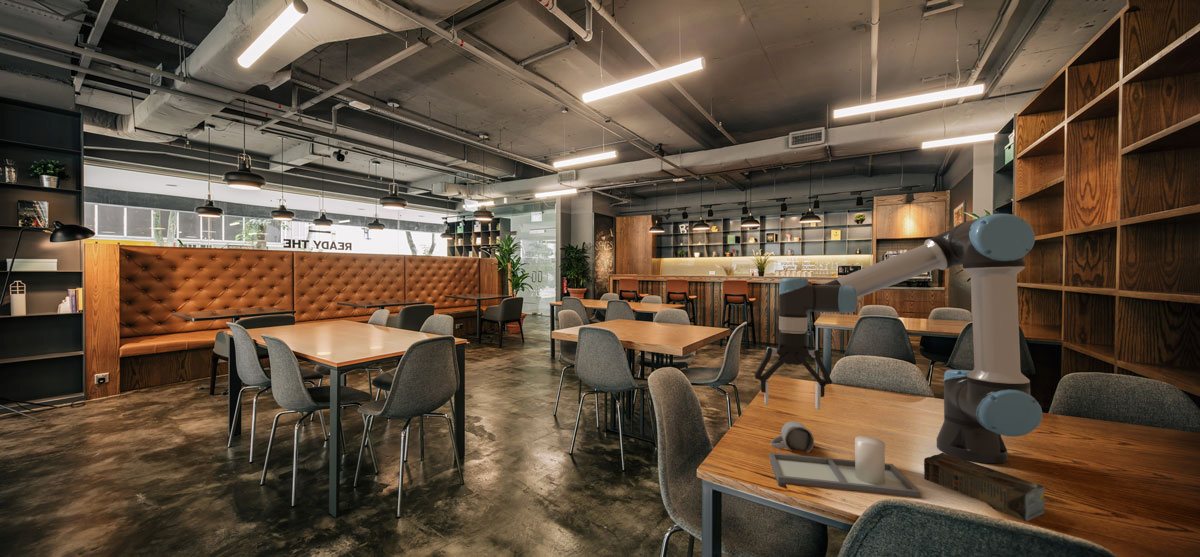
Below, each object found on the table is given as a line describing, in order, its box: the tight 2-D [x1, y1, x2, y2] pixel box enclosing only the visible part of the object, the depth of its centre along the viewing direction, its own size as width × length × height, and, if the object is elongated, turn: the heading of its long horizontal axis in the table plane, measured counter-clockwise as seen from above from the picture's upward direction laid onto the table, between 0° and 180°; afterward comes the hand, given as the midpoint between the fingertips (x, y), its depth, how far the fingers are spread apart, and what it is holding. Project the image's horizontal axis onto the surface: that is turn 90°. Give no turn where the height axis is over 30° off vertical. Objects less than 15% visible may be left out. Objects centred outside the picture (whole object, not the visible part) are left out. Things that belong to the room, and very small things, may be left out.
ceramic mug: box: [770, 420, 815, 453], centre depth 123 cm, size 11×8×8 cm
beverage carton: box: [923, 452, 1046, 522], centre depth 96 cm, size 8×19×7 cm, turn 24°
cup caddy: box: [769, 452, 922, 499], centre depth 104 cm, size 29×15×2 cm, turn 76°
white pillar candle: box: [854, 435, 886, 484], centre depth 103 cm, size 6×6×9 cm
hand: (791, 406), depth 123 cm, fingers open, 13 cm apart
